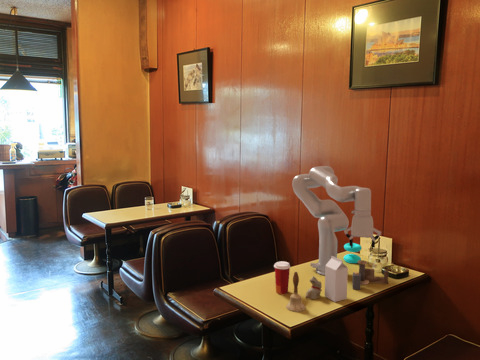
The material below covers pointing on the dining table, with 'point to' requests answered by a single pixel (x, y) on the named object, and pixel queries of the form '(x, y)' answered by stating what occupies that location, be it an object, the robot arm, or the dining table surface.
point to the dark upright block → (356, 280)
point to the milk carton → (336, 280)
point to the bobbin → (362, 272)
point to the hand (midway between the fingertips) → (362, 247)
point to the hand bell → (295, 297)
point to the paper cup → (282, 277)
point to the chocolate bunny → (314, 289)
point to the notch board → (372, 279)
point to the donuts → (352, 257)
